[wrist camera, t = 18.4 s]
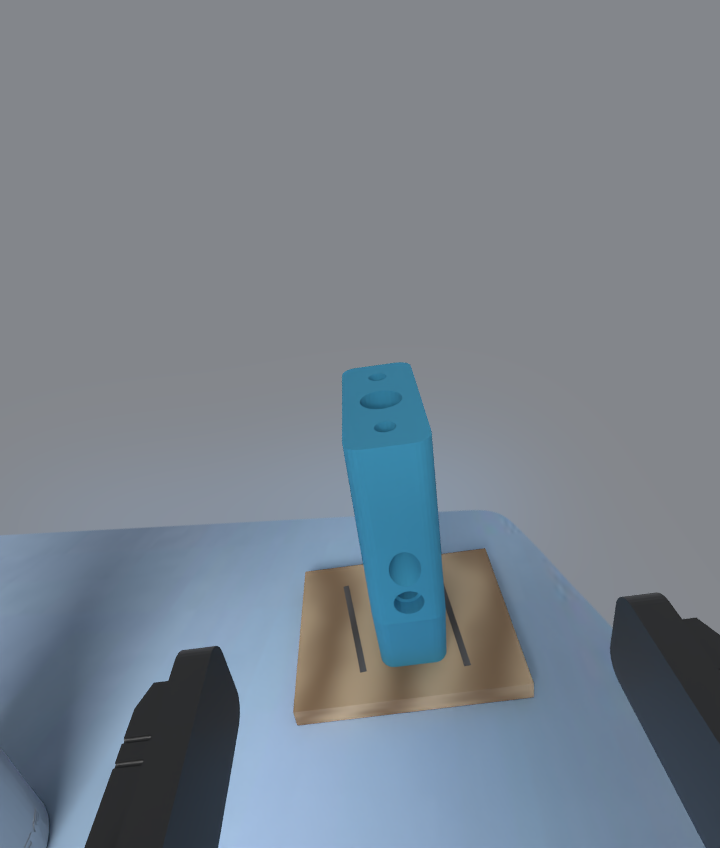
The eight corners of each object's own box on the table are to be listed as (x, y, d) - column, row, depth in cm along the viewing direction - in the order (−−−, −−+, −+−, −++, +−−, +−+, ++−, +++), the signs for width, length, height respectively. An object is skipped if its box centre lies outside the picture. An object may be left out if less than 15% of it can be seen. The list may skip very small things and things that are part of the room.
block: (374, 570, 48) (342, 369, 39) (428, 564, 48) (408, 360, 39) (383, 689, 38) (342, 452, 28) (453, 681, 37) (434, 440, 28)
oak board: (297, 725, 38) (293, 712, 37) (308, 583, 50) (305, 571, 50) (533, 697, 37) (533, 683, 36) (485, 560, 50) (485, 548, 49)
